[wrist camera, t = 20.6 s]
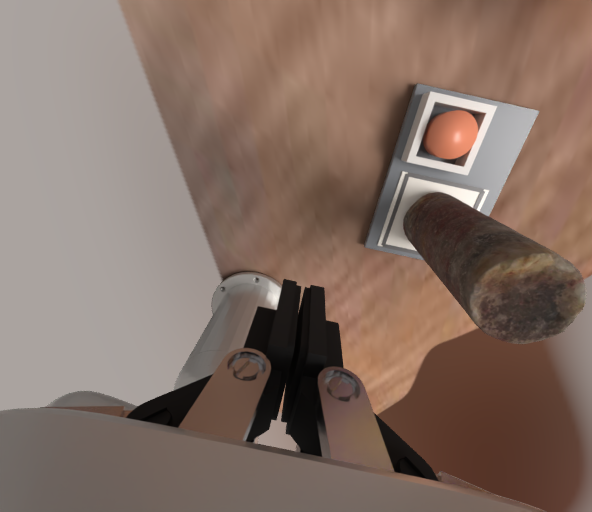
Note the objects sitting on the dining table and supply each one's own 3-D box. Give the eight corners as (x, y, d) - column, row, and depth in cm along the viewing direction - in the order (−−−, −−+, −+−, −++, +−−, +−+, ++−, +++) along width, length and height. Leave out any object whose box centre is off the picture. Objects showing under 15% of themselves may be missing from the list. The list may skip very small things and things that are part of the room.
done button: (456, 161, 34) (466, 163, 32) (416, 152, 34) (423, 153, 32) (474, 117, 32) (486, 115, 30) (432, 107, 32) (440, 105, 30)
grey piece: (460, 265, 41) (472, 276, 38) (364, 244, 41) (367, 254, 38) (533, 111, 33) (556, 109, 30) (415, 84, 33) (425, 79, 30)
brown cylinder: (423, 257, 40) (514, 363, 22) (387, 222, 38) (451, 303, 20) (471, 217, 37) (621, 299, 19) (435, 178, 36) (558, 225, 17)
